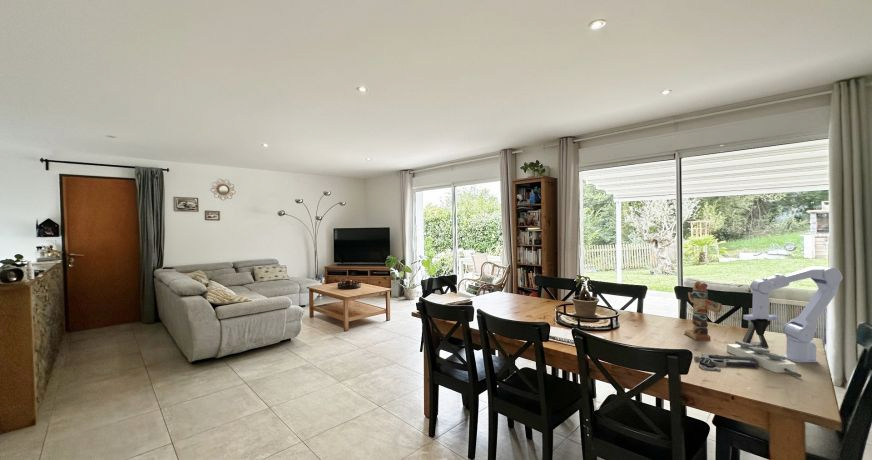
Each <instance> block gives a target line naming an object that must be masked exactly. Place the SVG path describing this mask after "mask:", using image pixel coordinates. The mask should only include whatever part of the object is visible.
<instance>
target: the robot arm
mask: <svg viewBox="0 0 872 460" xmlns="http://www.w3.org/2000/svg"><path fill="white" fill-rule="evenodd" d="M842 274H843V273H842V272H841V271H840V270H839V269H838V268H836V267H827V266H821V265H815V264H814V265H811V266H807V267H805V268H803V269H801V270H797V271H794V272H791V273H788V274H782V273H774V275H772V276H768V277H762V279H759V278H758V279H753V280H752V282H751V283H750V284H749V288H750V290H751V293H752V306H751V307H752V308H751V309H752V313H750V314H742V319H743V320H746V321H751V322H752V323H753V325H754V327H755V333H756V334H755V335H757V336H758V335H759V336H763V335H765V332H766V330H767V329H768V327H769V326H770V325H771V320H775V321H778V320H779V319H778V318H779V316H778V315H776V314H770V295H771V293H773V291H774V290H777V289H781V288H785V287H788V286H789V285H790V283H793V282H797V281H801V280H805V279H806V280H807V279H811V280H812V281H813V282H814V284H816V286H817V288H818V289H817V290H816V292H815V293H814V294H813V296H812V297H811V298H810V300H809V301H808V302H807V304H806V305H805V307H804V308H803V309H802V311H801V312H800V313H799V315H798V316H797V317H794V318H791V319H790V320H789V321H788V322H787V323H785V324H784V325H783V326H782V332H783V333H784V334H785V337H786V354H781V355H780V356H783V357H785V359H788V360H790V361H792V362H796V363H819V361H818V360H817V346H816V344H815V343H814V342H813V340H814V339H815V333H816V332H817V328H816V326H815V323H816V322H817V321H818V319H819V318H820V317H821V315H822V314H823V312H824V311H825V309H826V308H827V307H828V306H829V304H830V303H831V301H832V300H833V299H834V298H835V296H836V294H837V293H838V292H839V288H840V287H839V286H840V283H841V282H842V280H843V279H844V277H843V275H842ZM759 336H758V337H759Z"/></svg>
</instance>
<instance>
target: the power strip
mask: <svg viewBox="0 0 872 460" xmlns="http://www.w3.org/2000/svg"><path fill="white" fill-rule="evenodd" d="M748 348H749V347H743V346H740V345H738V344H735V343H734V344H733V343H731V344H729V343H727V344H726V352H727V353H729V354H731V355H733V356H745V357H750V358H751V357H753V358H754V359H756V361H757V362H758V366H759V367H762V368H763V369H765V370H768V371H770V372H772V373H789V374H791V375H793V376H796V377H798V378H802V374H801V373H799V372H797V364H796V363H794V362H793V361H791V360H790V361H789V360H787V359H785V360H780V359H774V358H770V357H768V356H765V355H763V353H756V352H753V351H751V350H748Z"/></svg>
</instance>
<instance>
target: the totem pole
mask: <svg viewBox="0 0 872 460" xmlns="http://www.w3.org/2000/svg"><path fill="white" fill-rule="evenodd" d="M707 288H708V284H707V283H702V282H701V281H698V280H697V281H695V282H694V284H693V288H692V292H690V291H689V292H687V295H688V299H689V301H690V303H692V304H693V311H692V313H693V314H692V317H691V318H692V321H691V322H692V325H693V327H692V329H686V330H684V335H686V336H688V337H690V338H692V339H693V340H695V341H706V342H707V341H708V342H710V341H711V340H712V339H711V335H710V334H709V330H708V326H709V324H708V321H709V320H708V319H709V317H708V316H709V315H708V313H709V311H711V312H713V313H720V311H722V307H723V304H722V303H720V302H716V301H713V300H709V297H708V295H709V293H708V289H707Z"/></svg>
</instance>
